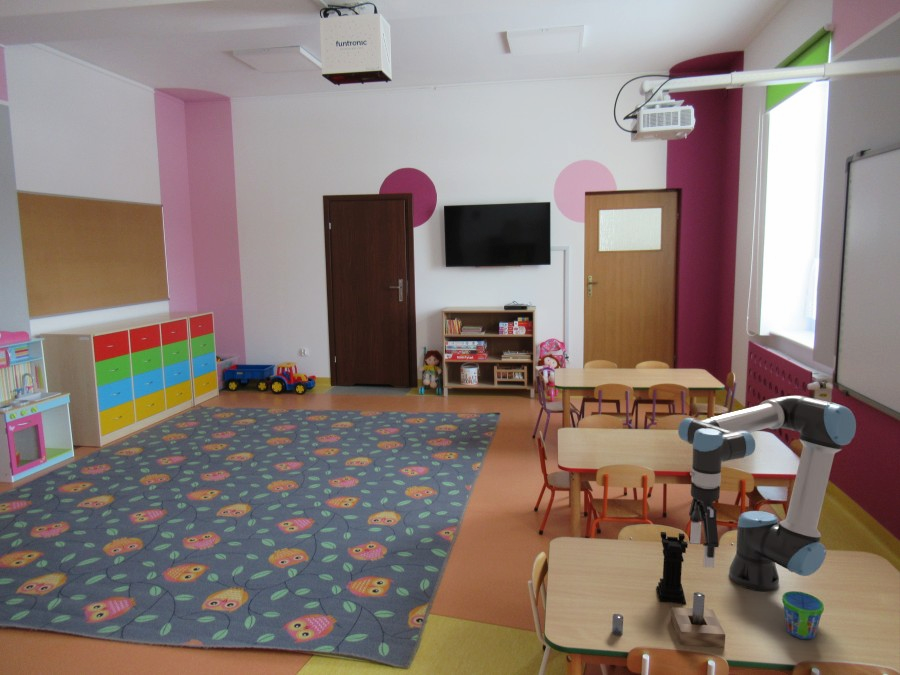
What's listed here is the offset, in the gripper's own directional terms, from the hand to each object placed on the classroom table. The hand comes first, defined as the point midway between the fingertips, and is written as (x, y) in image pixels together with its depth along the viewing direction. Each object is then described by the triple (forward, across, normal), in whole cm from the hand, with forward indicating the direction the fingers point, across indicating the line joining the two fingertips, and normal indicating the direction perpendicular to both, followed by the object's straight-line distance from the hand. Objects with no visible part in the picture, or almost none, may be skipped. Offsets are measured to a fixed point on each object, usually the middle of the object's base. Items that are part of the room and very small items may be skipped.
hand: (701, 554), depth 181 cm
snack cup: (+25, -3, +30) cm, 39 cm away
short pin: (+24, +2, -23) cm, 34 cm away
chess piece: (+25, -19, -3) cm, 31 cm away
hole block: (+24, 0, 0) cm, 25 cm away
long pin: (+24, 0, 0) cm, 25 cm away
